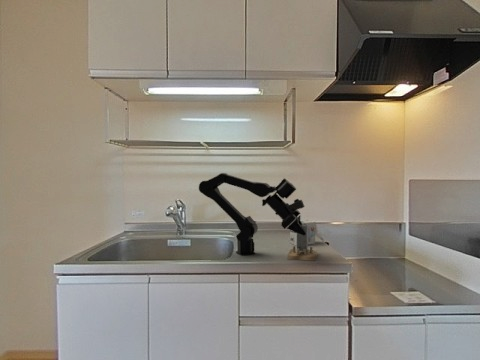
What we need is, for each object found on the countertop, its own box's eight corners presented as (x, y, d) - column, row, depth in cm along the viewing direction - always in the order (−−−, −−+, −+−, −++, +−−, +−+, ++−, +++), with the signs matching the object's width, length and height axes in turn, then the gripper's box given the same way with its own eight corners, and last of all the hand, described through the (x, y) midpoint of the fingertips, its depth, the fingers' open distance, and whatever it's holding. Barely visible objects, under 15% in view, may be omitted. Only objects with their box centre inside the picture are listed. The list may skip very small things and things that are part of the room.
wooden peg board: (287, 259, 148) (287, 249, 148) (291, 252, 160) (291, 243, 160) (315, 260, 145) (315, 250, 145) (317, 253, 157) (317, 244, 157)
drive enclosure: (296, 250, 151) (296, 226, 150) (298, 247, 155) (298, 224, 155) (306, 251, 150) (306, 226, 149) (307, 248, 154) (307, 224, 154)
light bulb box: (297, 246, 174) (297, 223, 173) (289, 243, 180) (289, 221, 180) (315, 243, 178) (315, 221, 178) (307, 241, 184) (307, 220, 184)
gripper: (289, 194, 144) (318, 223, 141) (295, 191, 162) (321, 217, 159) (269, 214, 146) (297, 243, 144) (277, 209, 164) (302, 234, 162)
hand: (305, 233), depth 152 cm, fingers closed on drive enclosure, 5 cm apart
